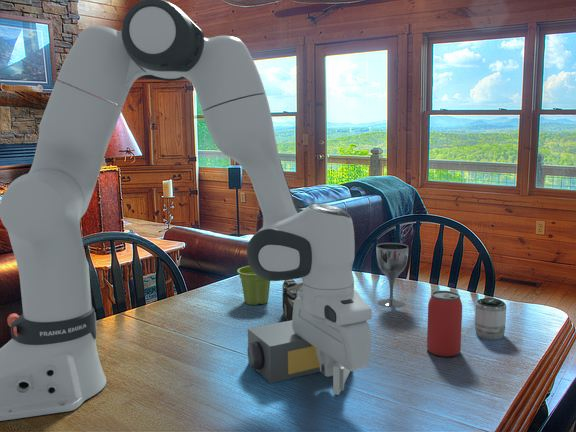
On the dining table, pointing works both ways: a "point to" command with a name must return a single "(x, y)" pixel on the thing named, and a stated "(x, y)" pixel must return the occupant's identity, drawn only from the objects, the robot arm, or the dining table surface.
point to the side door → (339, 377)
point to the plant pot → (253, 286)
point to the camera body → (280, 352)
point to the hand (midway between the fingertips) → (327, 373)
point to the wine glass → (392, 267)
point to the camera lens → (490, 318)
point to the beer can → (444, 323)
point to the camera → (290, 296)
